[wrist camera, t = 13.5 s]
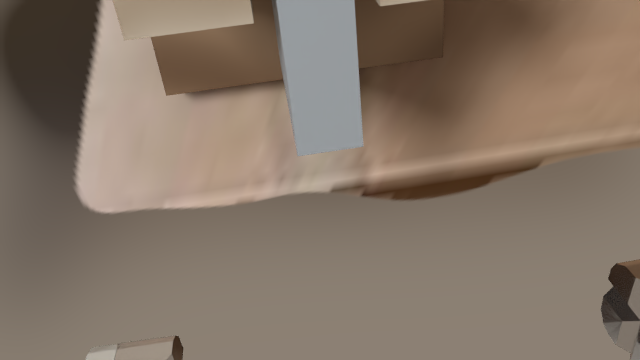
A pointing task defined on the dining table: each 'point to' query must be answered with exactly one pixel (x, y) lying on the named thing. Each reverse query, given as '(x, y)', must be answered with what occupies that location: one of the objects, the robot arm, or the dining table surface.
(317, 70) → the slotted plate
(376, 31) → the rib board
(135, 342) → the robot arm
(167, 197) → the dining table surface
